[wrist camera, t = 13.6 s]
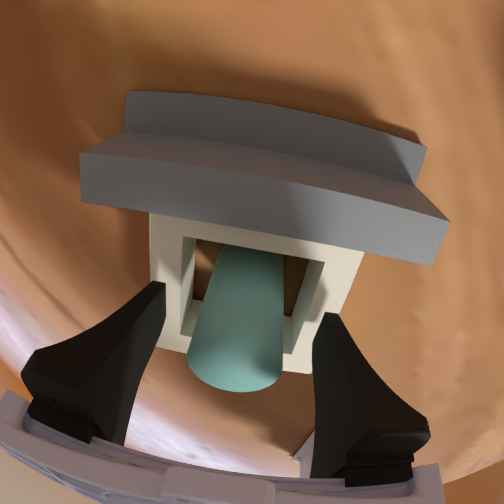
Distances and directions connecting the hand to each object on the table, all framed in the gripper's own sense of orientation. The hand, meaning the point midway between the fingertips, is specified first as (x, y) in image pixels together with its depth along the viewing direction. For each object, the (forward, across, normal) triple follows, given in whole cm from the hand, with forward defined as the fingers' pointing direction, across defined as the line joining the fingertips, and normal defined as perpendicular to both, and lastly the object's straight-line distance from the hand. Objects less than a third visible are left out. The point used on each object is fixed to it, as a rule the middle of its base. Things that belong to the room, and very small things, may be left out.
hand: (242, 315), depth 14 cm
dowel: (+4, 0, 0) cm, 4 cm away
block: (+4, 0, 0) cm, 4 cm away
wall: (+4, 0, -6) cm, 7 cm away
